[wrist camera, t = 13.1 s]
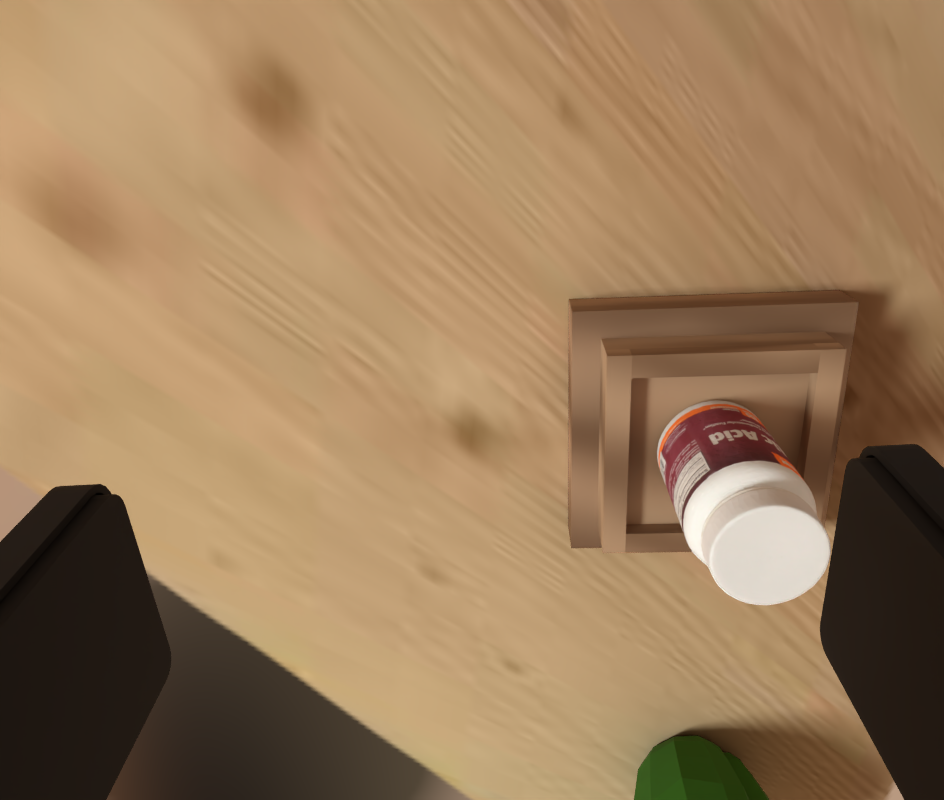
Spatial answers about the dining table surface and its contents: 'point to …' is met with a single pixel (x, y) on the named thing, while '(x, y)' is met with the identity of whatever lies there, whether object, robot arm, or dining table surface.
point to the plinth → (695, 397)
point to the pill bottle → (742, 504)
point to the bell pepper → (694, 773)
